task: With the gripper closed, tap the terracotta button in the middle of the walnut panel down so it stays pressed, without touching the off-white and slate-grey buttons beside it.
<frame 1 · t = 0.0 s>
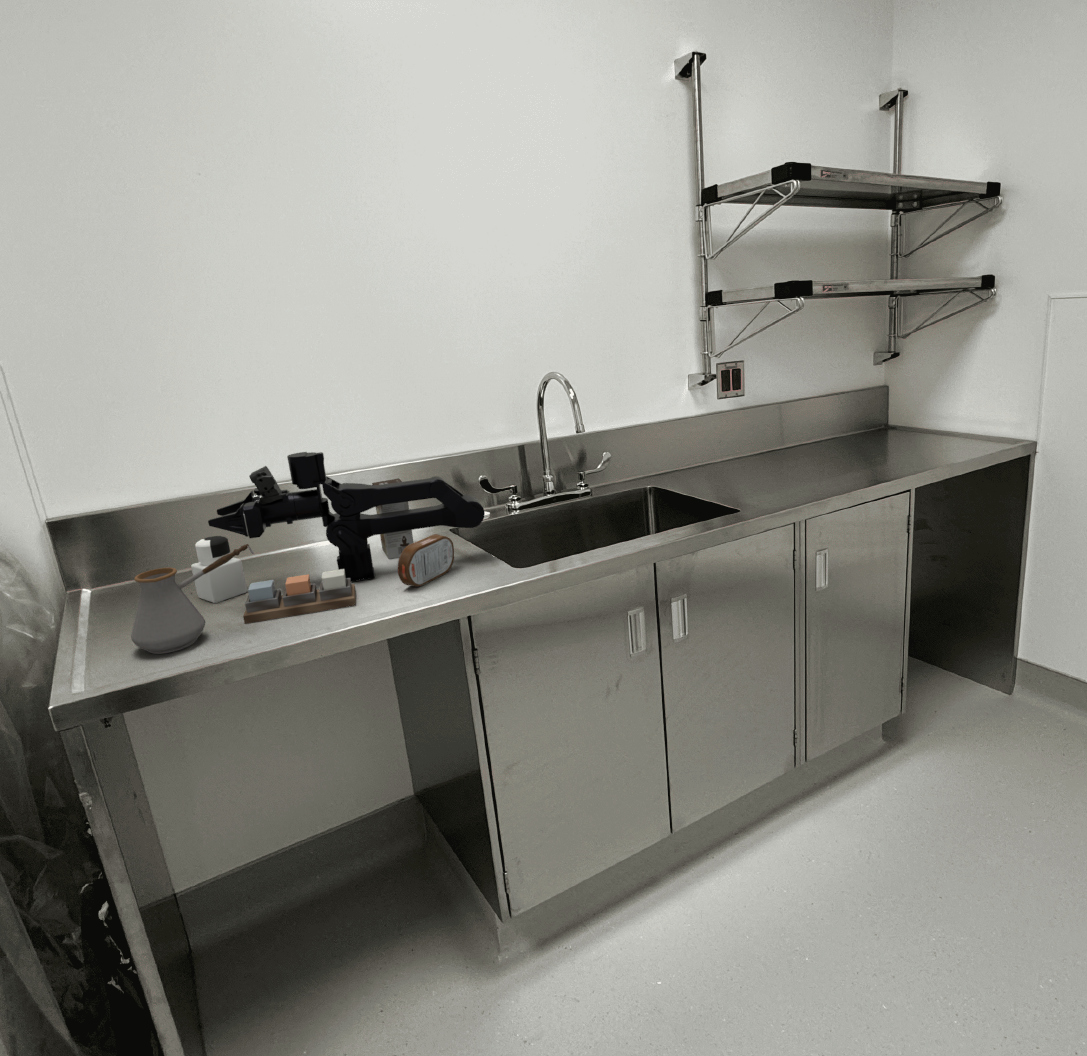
hand: (212, 517, 143), 17 cm above the counter, tool horizontal, fingers open, 9 cm apart
terracotta button: (298, 586, 137), point 4 cm above the counter, slide at 0.0 cm
tin: (430, 580, 147), on the counter
slate button: (262, 592, 136), point 4 cm above the counter, slide at 0.0 cm
white button: (334, 581, 138), point 4 cm above the counter, slide at 0.0 cm
button panel: (302, 606, 138), on the counter
coffee box: (398, 552, 168), on the counter
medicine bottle: (223, 595, 149), on the counter
coffee pot: (203, 638, 128), on the counter
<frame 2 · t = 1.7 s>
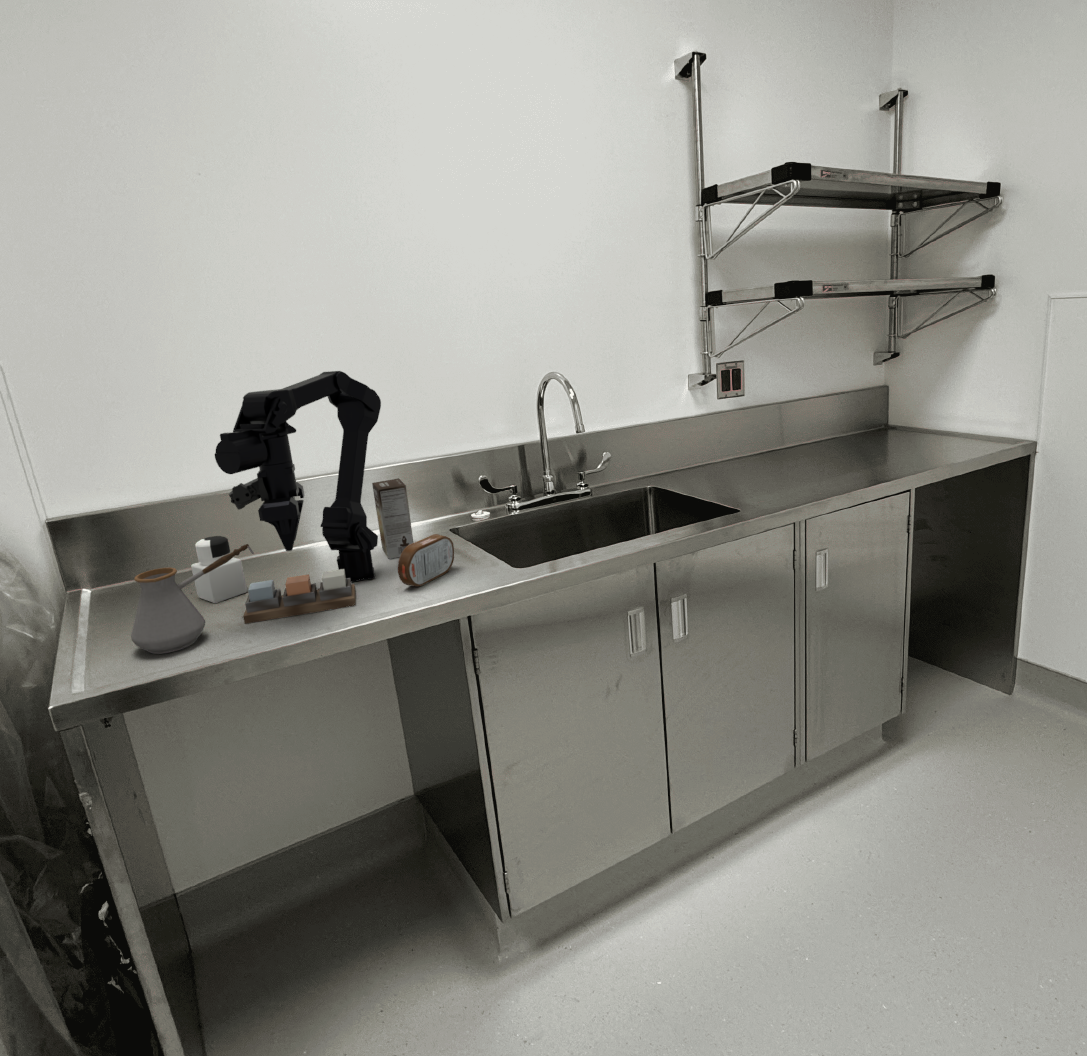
hand: (290, 545, 135), 12 cm above the counter, tool pointing down, fingers open, 6 cm apart
nothing on the counter moved.
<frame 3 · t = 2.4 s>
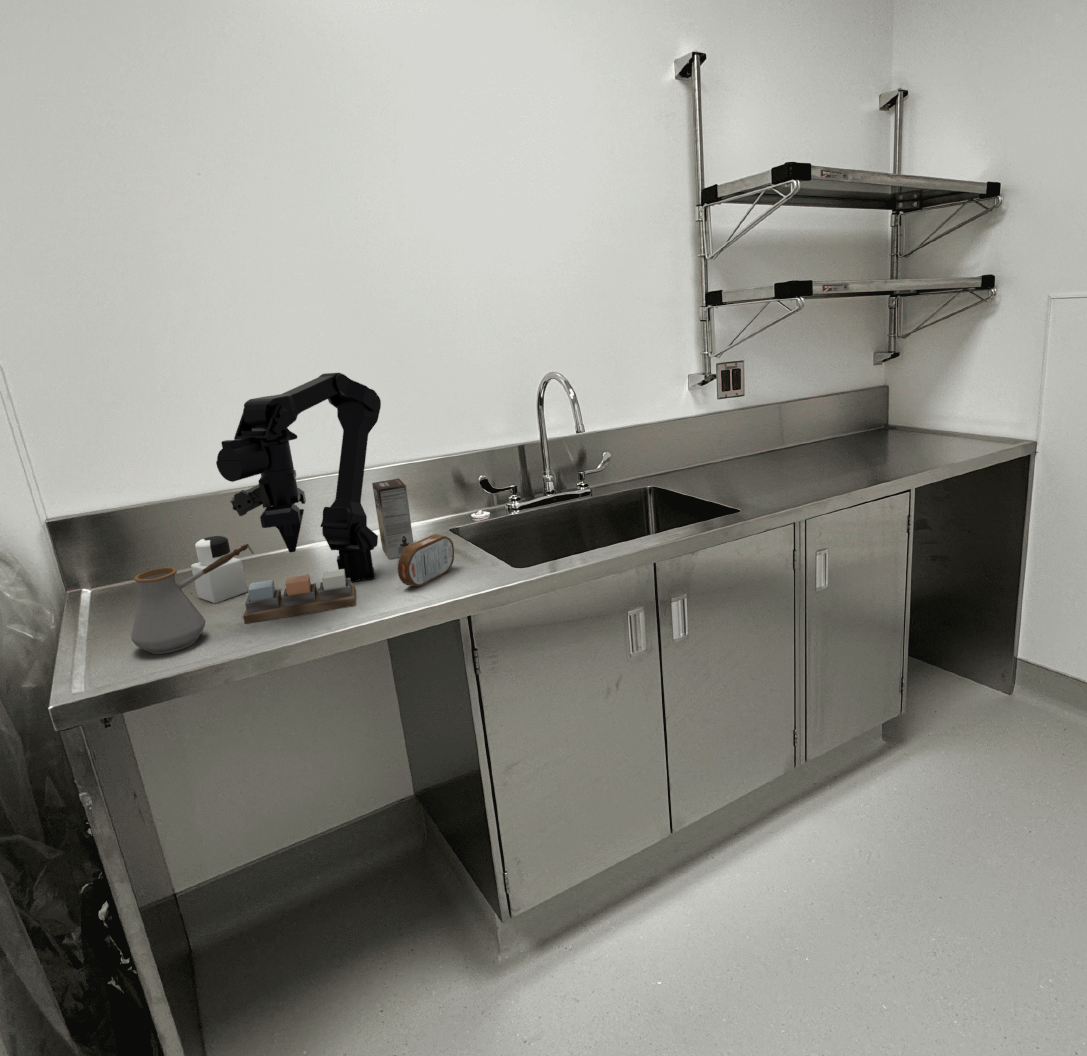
hand: (292, 551, 135), 11 cm above the counter, tool pointing down, fingers closed
nothing on the counter moved.
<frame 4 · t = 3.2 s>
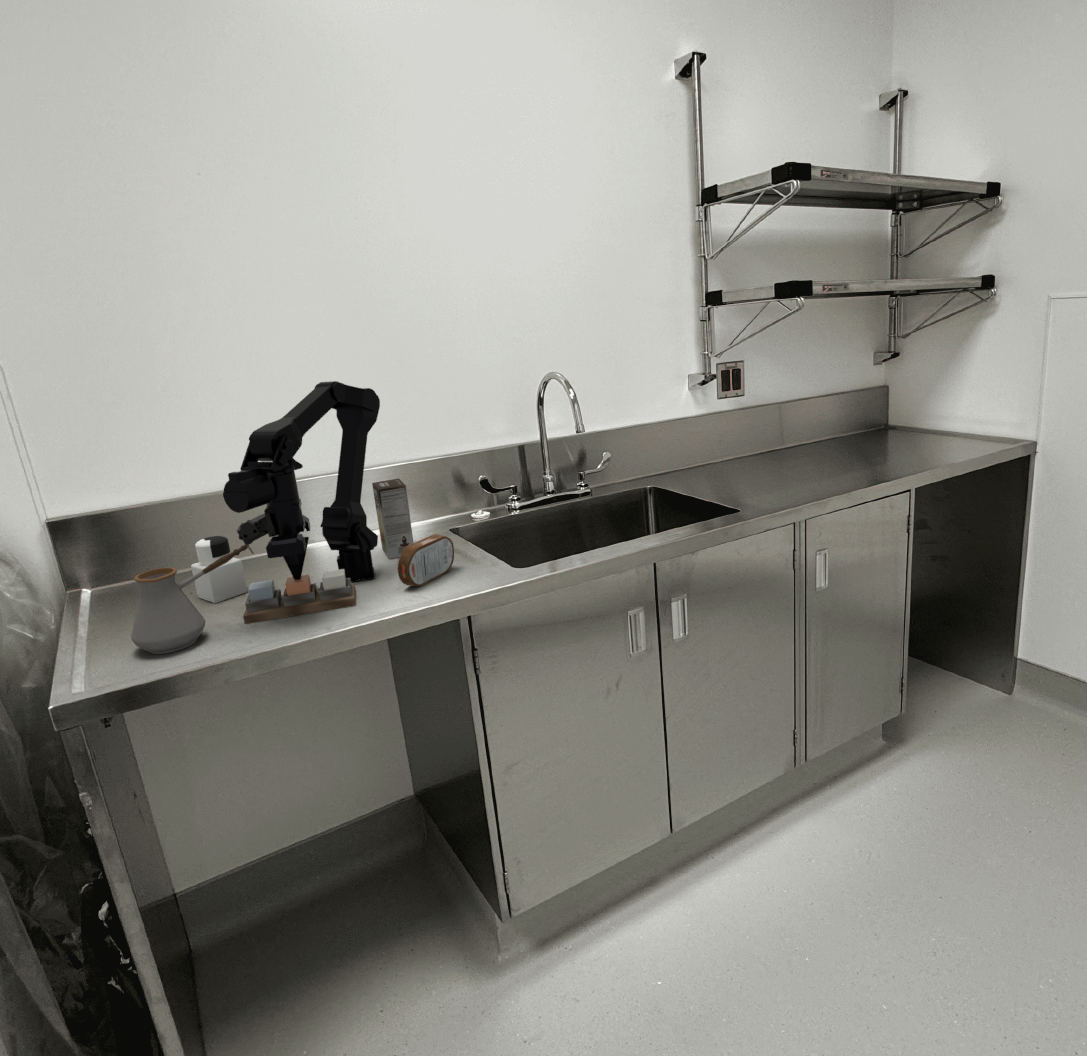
hand: (297, 579, 137), 5 cm above the counter, tool pointing down, fingers closed, pressing on terracotta button
terracotta button: (298, 586, 137), point 4 cm above the counter, slide at 0.0 cm, touching gripper
everything else where it was.
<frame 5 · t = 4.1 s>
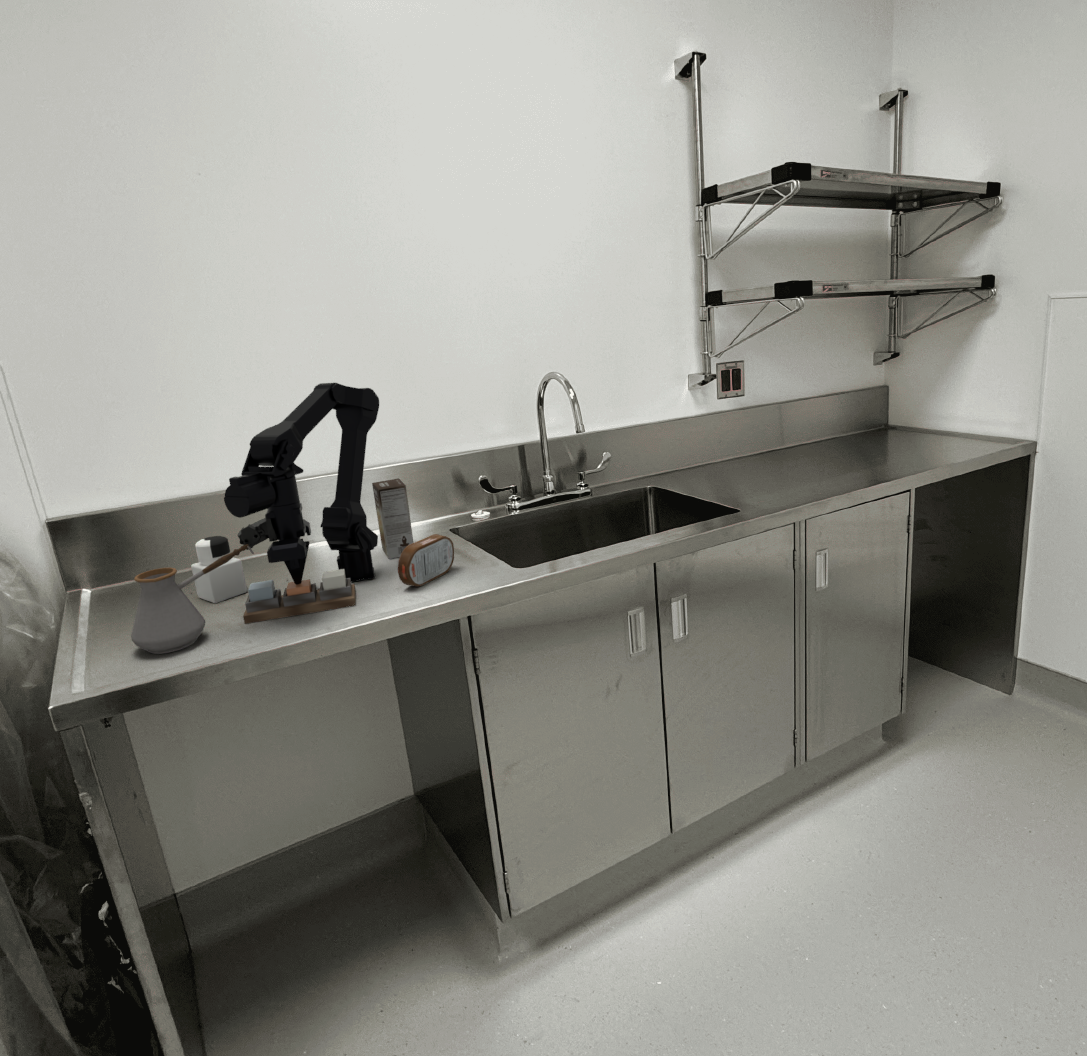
hand: (298, 583, 137), 5 cm above the counter, tool pointing down, fingers closed
terracotta button: (299, 591, 137), point 3 cm above the counter, slide at 1.0 cm, touching button panel
everything else where it was.
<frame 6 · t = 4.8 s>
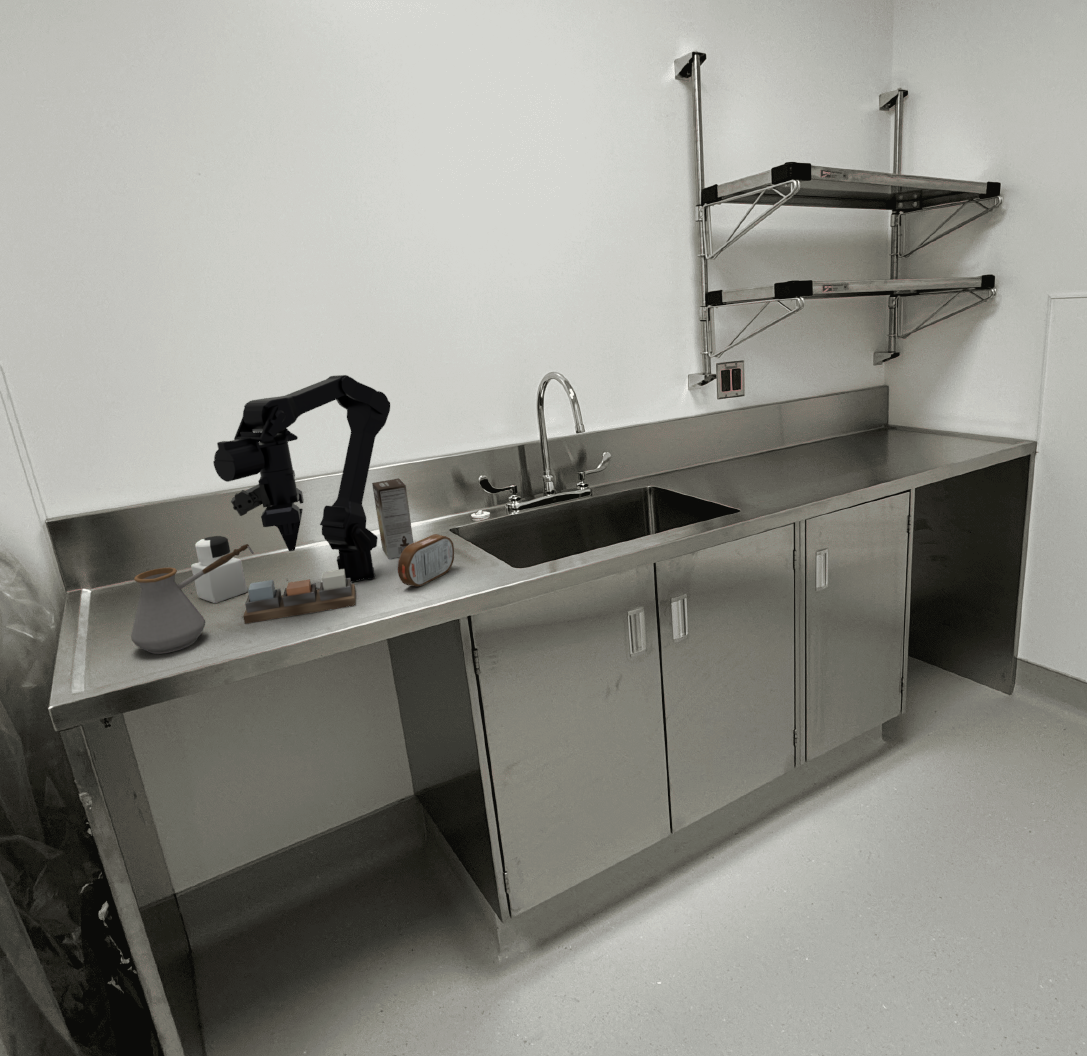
hand: (292, 550, 138), 10 cm above the counter, tool pointing down, fingers closed
nothing on the counter moved.
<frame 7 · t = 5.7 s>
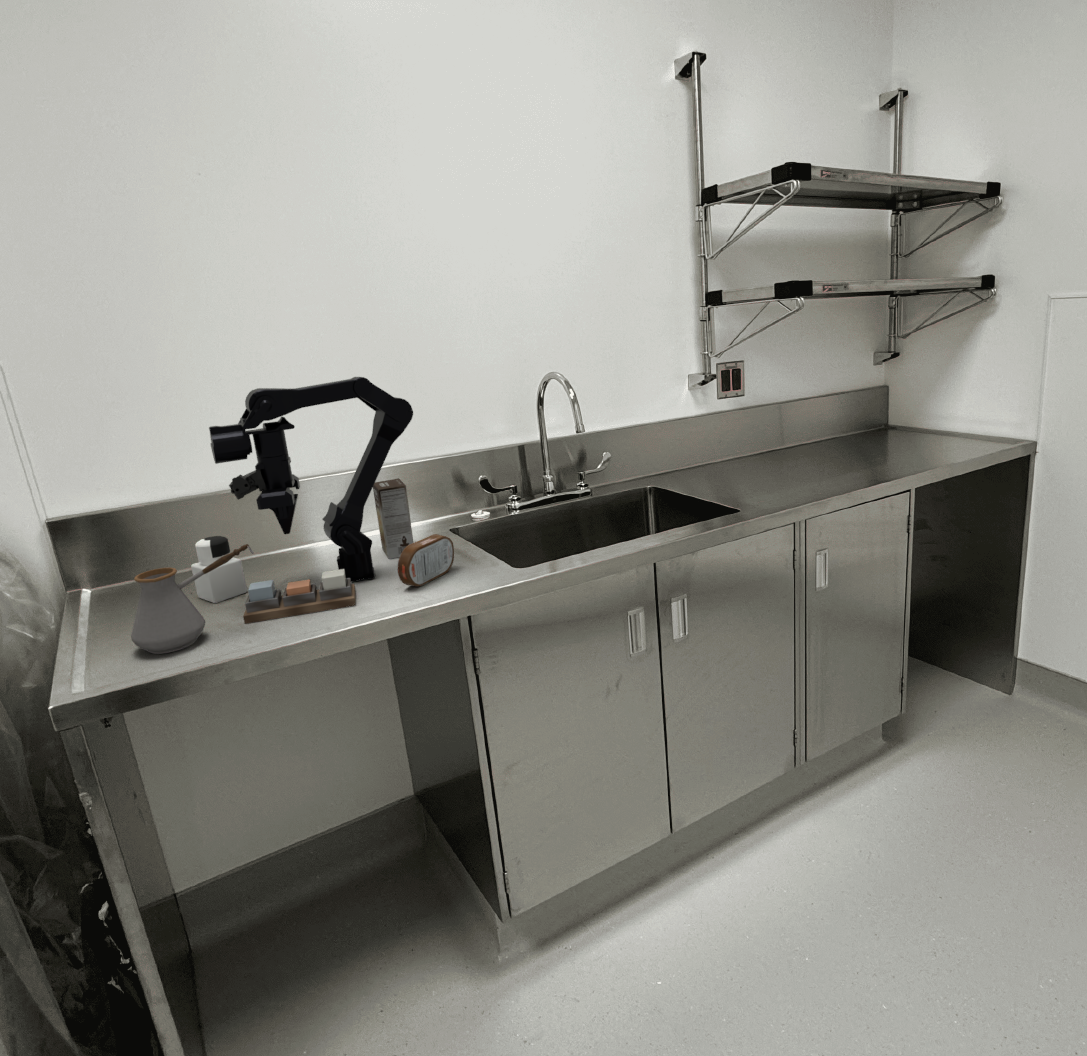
hand: (287, 533, 144), 12 cm above the counter, tool pointing down, fingers closed
nothing on the counter moved.
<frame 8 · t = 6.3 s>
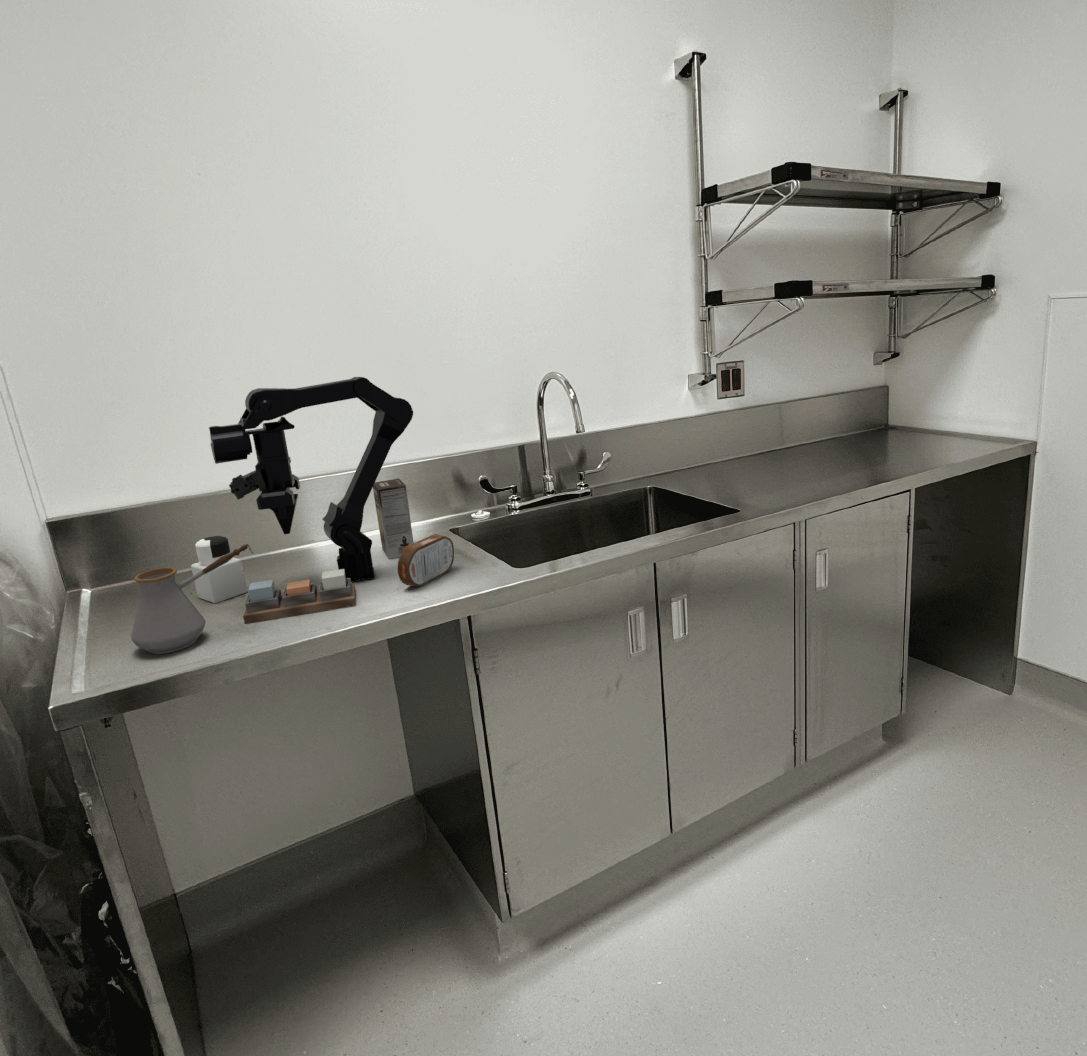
hand: (287, 533, 144), 12 cm above the counter, tool pointing down, fingers closed
nothing on the counter moved.
at the end: terracotta button slide at 1.0 cm; white button slide at 0.0 cm; slate button slide at 0.0 cm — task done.
